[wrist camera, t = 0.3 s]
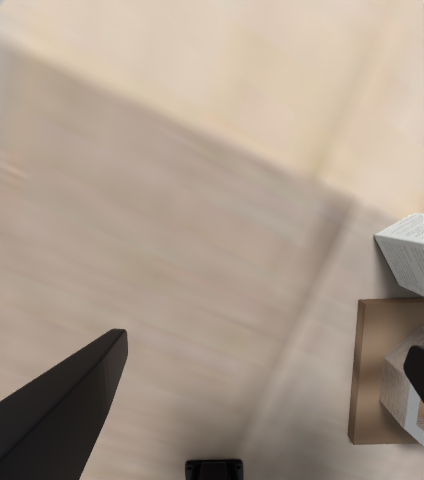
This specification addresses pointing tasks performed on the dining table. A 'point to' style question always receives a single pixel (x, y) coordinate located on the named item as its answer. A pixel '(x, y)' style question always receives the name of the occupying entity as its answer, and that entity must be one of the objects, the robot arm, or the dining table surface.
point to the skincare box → (405, 251)
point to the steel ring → (402, 387)
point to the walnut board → (379, 367)
